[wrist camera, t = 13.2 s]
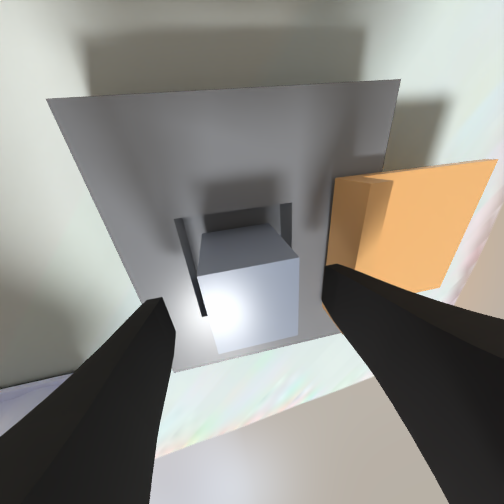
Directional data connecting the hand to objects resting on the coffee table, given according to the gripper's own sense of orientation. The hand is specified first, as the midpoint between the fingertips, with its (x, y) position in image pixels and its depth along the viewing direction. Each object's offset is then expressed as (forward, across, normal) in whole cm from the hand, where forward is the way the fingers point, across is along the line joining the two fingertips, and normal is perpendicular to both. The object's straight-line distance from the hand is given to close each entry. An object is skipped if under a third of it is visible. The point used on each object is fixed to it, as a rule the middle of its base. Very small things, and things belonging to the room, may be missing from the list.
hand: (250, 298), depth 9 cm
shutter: (+3, -10, 0) cm, 10 cm away
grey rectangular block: (+5, 0, 0) cm, 5 cm away
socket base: (+6, -1, 0) cm, 6 cm away
